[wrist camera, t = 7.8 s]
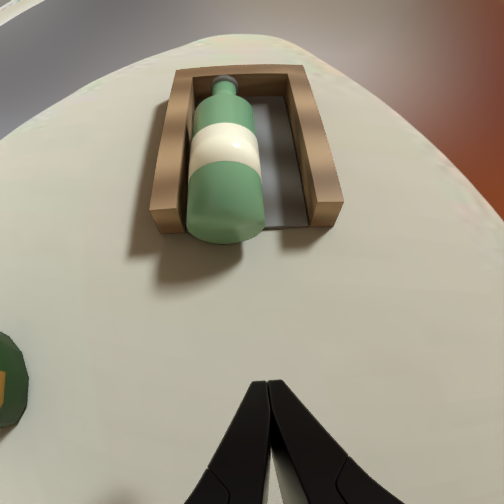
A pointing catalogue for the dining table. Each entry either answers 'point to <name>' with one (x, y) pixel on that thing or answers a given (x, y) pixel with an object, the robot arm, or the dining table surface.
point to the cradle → (269, 144)
